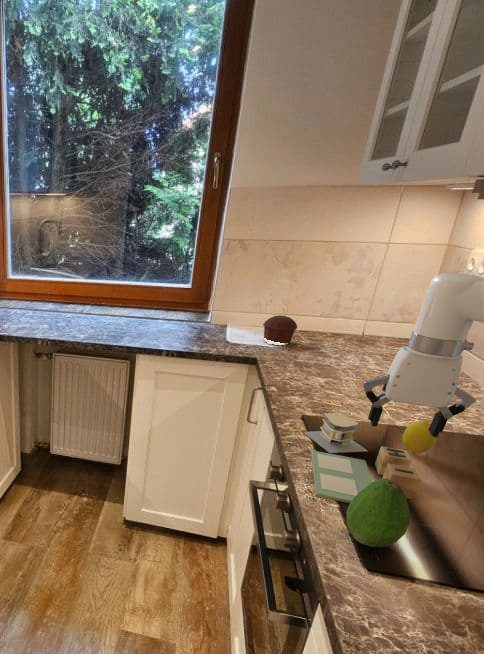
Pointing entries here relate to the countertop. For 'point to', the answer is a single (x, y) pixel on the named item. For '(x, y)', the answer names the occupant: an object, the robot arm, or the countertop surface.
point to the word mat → (339, 476)
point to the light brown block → (391, 458)
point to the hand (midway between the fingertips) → (402, 428)
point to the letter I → (403, 478)
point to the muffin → (279, 329)
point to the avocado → (378, 514)
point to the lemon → (418, 437)
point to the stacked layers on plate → (336, 434)
